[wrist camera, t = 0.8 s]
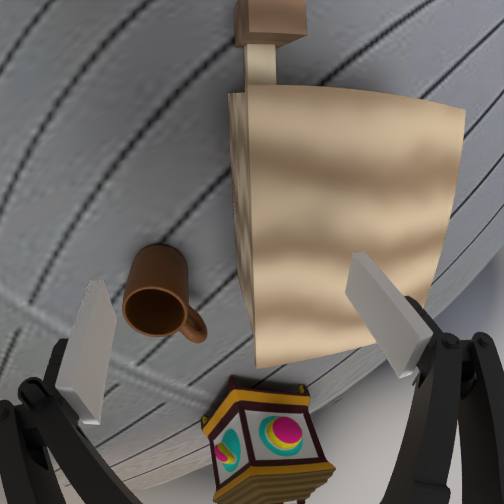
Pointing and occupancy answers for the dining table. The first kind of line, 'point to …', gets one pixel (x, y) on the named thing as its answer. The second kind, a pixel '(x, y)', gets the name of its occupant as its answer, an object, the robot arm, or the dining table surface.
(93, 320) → the robot arm
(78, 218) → the dining table surface
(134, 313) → the mug
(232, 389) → the decorative lantern
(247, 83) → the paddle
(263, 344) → the cabinet
